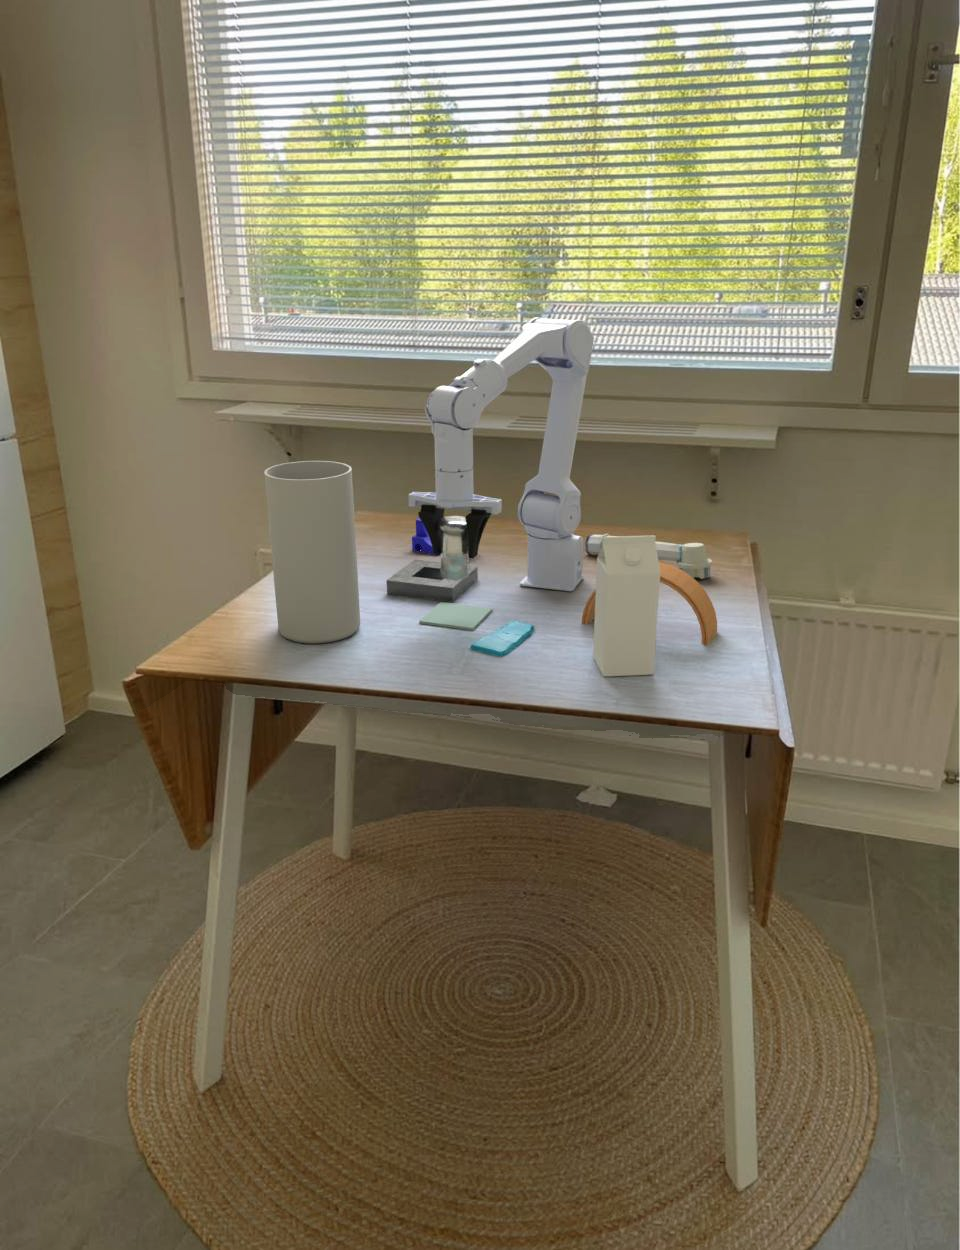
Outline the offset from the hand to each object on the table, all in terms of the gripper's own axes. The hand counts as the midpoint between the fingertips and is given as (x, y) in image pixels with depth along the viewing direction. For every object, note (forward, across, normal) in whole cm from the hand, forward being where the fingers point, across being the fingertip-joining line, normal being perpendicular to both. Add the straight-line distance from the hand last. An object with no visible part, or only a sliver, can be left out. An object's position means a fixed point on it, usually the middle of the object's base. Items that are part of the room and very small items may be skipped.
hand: (455, 554), depth 150 cm
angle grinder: (+11, +24, +36) cm, 44 cm away
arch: (+11, +30, +6) cm, 32 cm away
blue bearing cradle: (+11, -15, +31) cm, 36 cm away
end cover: (+4, -1, +1) cm, 4 cm away
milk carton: (+11, +29, -10) cm, 32 cm away
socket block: (+10, -9, +12) cm, 18 cm away
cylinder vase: (+11, -18, -12) cm, 24 cm away
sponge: (+11, +11, -6) cm, 17 cm away
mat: (+10, 0, 0) cm, 10 cm away
